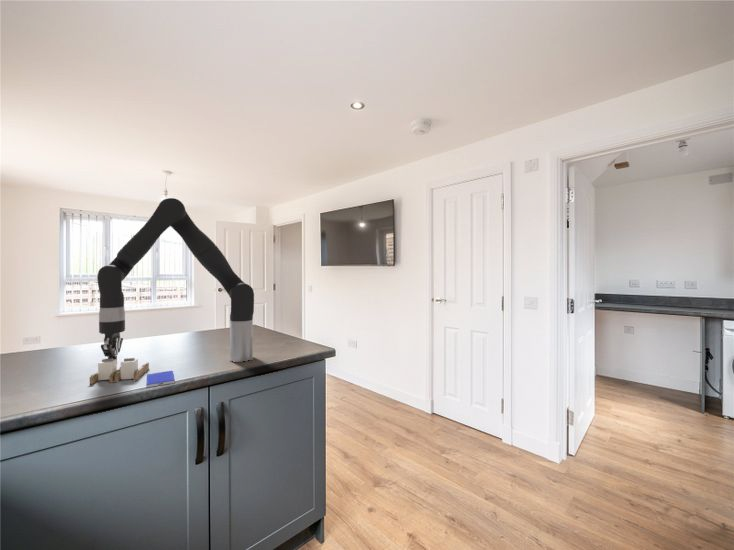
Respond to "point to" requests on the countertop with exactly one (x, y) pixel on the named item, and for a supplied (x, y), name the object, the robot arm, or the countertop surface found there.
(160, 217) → the robot arm
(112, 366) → the tab
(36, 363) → the countertop surface
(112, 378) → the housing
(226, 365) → the countertop surface
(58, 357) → the countertop surface
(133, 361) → the tab
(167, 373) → the hard drive
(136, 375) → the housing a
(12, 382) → the countertop surface
